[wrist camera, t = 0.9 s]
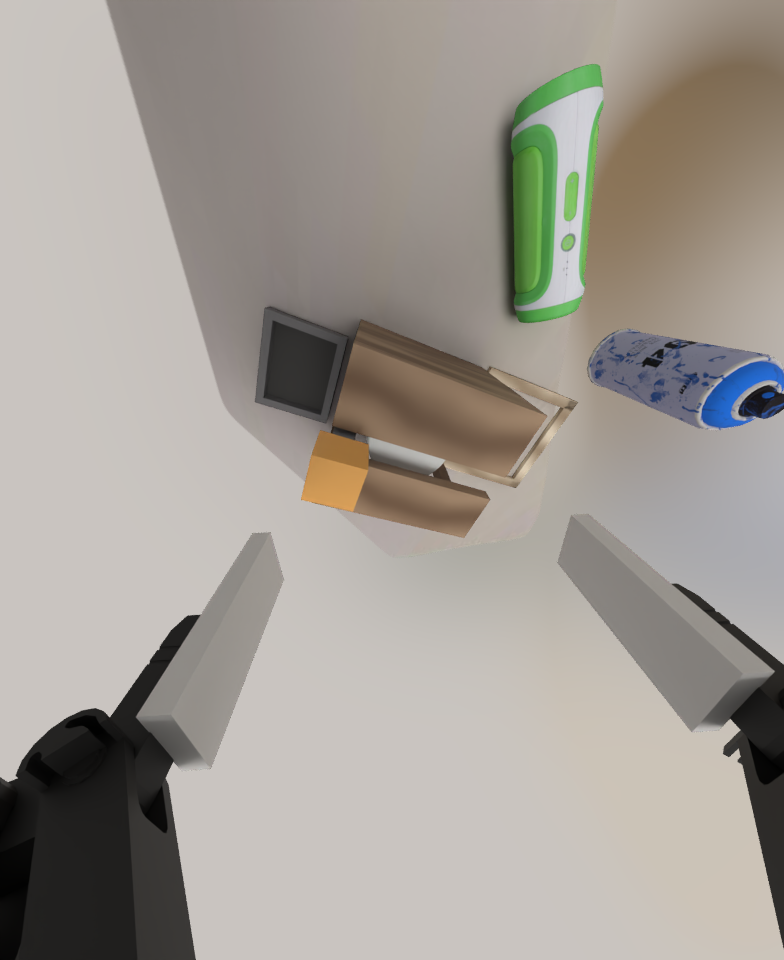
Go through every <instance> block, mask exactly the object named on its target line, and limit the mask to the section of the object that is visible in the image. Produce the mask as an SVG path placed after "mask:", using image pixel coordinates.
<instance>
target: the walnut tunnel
mask: <svg viewBox="0 0 784 960" xmlns="http://www.w3.org/2000/svg"><path fill="white" fill-rule="evenodd" d="M546 418H547V415H545V414H544V413H543V412H541V411H540V410H538V409H537V408H536V407H534V406H533V405H532V404H530V403H529V402H528V401H526V400H525V399H524V398H522V397H521V396H520V395H518V394H517V393H516V392H514V391H513V390H512V389H510V388H509V387H508V386H506V385H505V384H504V383H502V382H501V381H500V380H498V379H497V378H496V377H494V376H493V375H491V374H490V373H489V372H487V371H486V370H485V369H483V368H482V367H480V366H477V365H475V364H472V363H470V362H467V361H465V360H462V359H460V358H457V357H455V356H452V355H449V354H447V353H444V352H442V351H439V350H437V349H434V348H432V347H429V346H427V345H424V344H422V343H419V342H417V341H414V340H412V339H409V338H407V337H404V336H402V335H399V334H397V333H394V332H392V331H389V330H387V329H384V328H382V327H379V326H377V325H374V324H372V323H369V322H367V321H364V320H362V319H361V321H360V324H359V328H358V331H357V334H356V337H355V340H354V344H353V347H352V351H351V355H350V359H349V363H348V366H347V370H346V374H345V378H344V382H343V385H342V389H341V393H340V397H339V401H338V404H337V408H336V412H335V416H334V420H333V423H332V426H333V427H332V430H331V433H332V434H333V431H334V427H338V428H341V429H344V430H348V431H351V432H354V433H358V434H361V435H364V436H368V437H371V438H374V439H378V440H381V441H384V442H388V443H391V444H394V445H398V446H401V447H404V448H408V449H411V450H414V451H418V452H421V453H424V454H428V455H431V456H434V457H438V458H441V459H444V460H448V461H451V462H454V463H458V464H461V465H464V466H468V467H471V468H474V469H478V470H481V471H484V472H488V473H491V474H494V475H498V476H501V477H504V478H505V477H506V476H507V474H508V473H509V472H510V470H511V469H512V467H513V466H514V464H515V463H516V461H517V460H518V458H519V457H520V455H521V454H522V453H523V451H524V450H525V448H526V447H527V445H528V444H529V442H530V441H531V439H532V438H533V437H534V435H535V434H536V432H537V431H538V429H539V428H540V426H541V425H542V423H543V422H544V420H545V419H546ZM433 476H434V477H432V476H428V475H425V474H421V473H418V472H414V471H411V470H407V469H404V468H400V467H396V466H393V465H389V464H386V463H382V462H379V461H375V460H372V459H369V462H368V473H367V475H366V478H365V481H364V483H363V486H362V489H361V492H360V494H359V497H358V500H357V502H356V505H355V508H354V510H353V512H354V513H359V514H363V515H367V516H372V517H376V518H380V519H385V520H389V521H393V522H398V523H402V524H406V525H411V526H415V527H419V528H424V529H428V530H432V531H437V532H441V533H445V534H449V535H454V536H458V537H462V538H464V537H465V536H466V534H467V533H468V531H469V530H470V528H471V527H472V526H473V524H474V523H475V521H476V520H477V518H478V517H479V515H480V514H481V512H482V511H483V510H484V508H485V507H486V505H487V504H488V502H489V501H490V499H489V497H488V495H487V493H486V492H485V491H482V490H478V489H475V488H471V487H468V486H464V485H461V484H457V483H453V482H451V480H450V478H449V475H448V473H447V470H446V468H445V466H444V463H443V464H442V465H441V466H440V467H439V468H438V469H437V470H436V471H434V472H433ZM312 503H313V502H312ZM316 504H317V503H316ZM320 505H322V504H320ZM325 506H326V505H325ZM329 507H330V506H329ZM333 508H335V507H333ZM337 509H339V508H337ZM341 510H343V509H341ZM346 511H348V510H346ZM350 512H352V511H350Z"/></svg>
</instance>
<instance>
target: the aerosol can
mask: <svg viewBox="0 0 784 960" xmlns="http://www.w3.org/2000/svg"><path fill="white" fill-rule="evenodd" d="M587 371H588V377H589V378H590V380H591V382H593V383H594V384H596V385H597V386H601V387H606V388H608V389H610V390H613V391H615V392H617V393H619V394H622V395H624V396H626V397H629V398H631V399H633V400H636V401H638V402H640V403H643V404H645V405H647V406H649V407H651V408H654V409H656V410H658V411H661V412H663V413H665V414H667V415H670V416H672V417H675V418H677V419H679V420H681V421H683V422H686V423H688V424H690V425H693V426H695V427H698V428H703V429H707V430H715V431H718V430H723V429H729V428H731V427H734V426H740V425H743V424H745V423H748V422H750V421H752V420H753V419H755V418H757V417H759V418H763V419H765V418H769V417H772V416H774V415H775V414H777V413H779V412H780V411H782V410H783V409H784V394H782V391H783V389H784V369H783V365H782V364H781V363H780V362H779V361H778V360H777V359H776V358H774V357H770V356H769V355H766V354H760V353H755V352H749V351H744V350H738V349H732V348H726V347H721V346H714V345H709V344H703V343H698V342H692V341H686V340H680V339H675V338H669V337H663V336H658V335H652V334H646V333H641V332H639V331H638V330H633V329H623V330H618V331H616V332H614V333H612V334H610V335H608V336H607V337H606V338H605V339H604V340H602V341H601V342H600V343H599V345H598V346H597V347H596V348H595V350H594V351H593V353H592V355H591V357H590V359H589V363H588V367H587Z"/></svg>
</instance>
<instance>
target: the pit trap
mask: <svg viewBox="0 0 784 960" xmlns="http://www.w3.org/2000/svg"><path fill="white" fill-rule="evenodd" d="M347 340H348V336H345V335H343V334H340V333H337V332H335V331H332V330H329V329H327V328H324V327H322V326H319V325H316V324H314V323H311V322H308V321H306V320H303V319H300V318H298V317H295V316H293V315H290V314H287V313H285V312H282V311H279V310H277V309H274V308H271V307H267V308H265V310H264V320H263V330H262V339H261V349H260V359H259V369H258V378H257V388H256V398H255V402H256V403H259V404H263V405H266V406H269V407H273V408H276V409H279V410H283V411H286V412H289V413H293V414H296V415H299V416H303V417H306V418H309V419H313V420H316V421H319V422H323V423H327V420H328V416H329V412H330V408H331V404H332V400H333V396H334V392H335V388H336V384H337V380H338V376H339V372H340V368H341V364H342V360H343V356H344V352H345V348H346V344H347Z"/></svg>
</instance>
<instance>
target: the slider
mask: <svg viewBox="0 0 784 960" xmlns="http://www.w3.org/2000/svg"><path fill="white" fill-rule="evenodd" d="M355 435H356V433H354V432H351V431H348V430H344V429H341V428H338V427H334V431H333V434H332V433H328V432H325V431H321V430H320V432H319V435H318V438H317V441H316V444H315V447H314V449H313V452H312V455H311V459H310V464H309V468H308V472H307V476H306V480H305V485H304V489H303V493H302V497H301V500H305V501H309V502H313V503H317V504H322V505H326V506H330V507H335V508H339V509H343V510H348V511H352V512H353V510H354V508H355V505H356V502H357V500H358V497H359V494H360V492H361V489H362V486H363V483H364V481H365V478H366V475H367V473H368V462H369V444H366V443H362V442H359V441H355Z"/></svg>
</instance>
